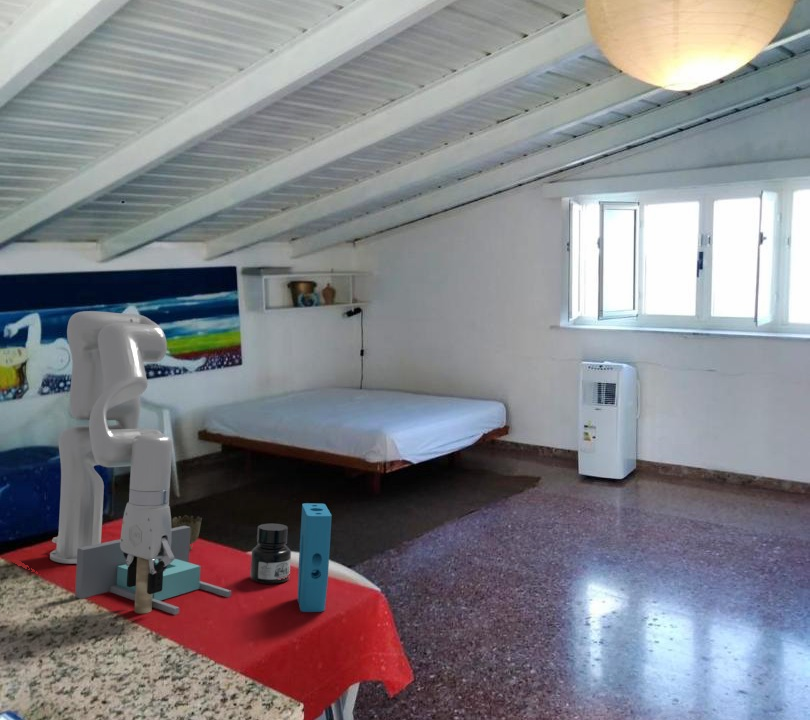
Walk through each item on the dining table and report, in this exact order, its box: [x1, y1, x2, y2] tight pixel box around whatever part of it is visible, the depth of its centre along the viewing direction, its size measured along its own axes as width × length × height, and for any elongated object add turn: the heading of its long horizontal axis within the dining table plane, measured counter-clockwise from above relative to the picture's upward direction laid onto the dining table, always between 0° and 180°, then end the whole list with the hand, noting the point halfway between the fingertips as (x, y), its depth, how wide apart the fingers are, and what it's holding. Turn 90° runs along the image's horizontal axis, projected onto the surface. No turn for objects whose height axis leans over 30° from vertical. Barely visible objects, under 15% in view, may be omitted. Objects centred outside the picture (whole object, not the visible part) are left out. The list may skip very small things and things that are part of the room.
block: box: [297, 502, 332, 613], centre depth 159 cm, size 12×5×20 cm, turn 13°
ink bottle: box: [249, 523, 292, 585], centre depth 174 cm, size 10×9×12 cm
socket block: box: [117, 558, 202, 601], centre depth 162 cm, size 12×12×5 cm
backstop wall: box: [74, 526, 232, 615], centre depth 161 cm, size 22×28×10 cm
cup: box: [171, 514, 203, 550], centre depth 194 cm, size 8×7×8 cm
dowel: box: [134, 557, 153, 614], centre depth 150 cm, size 3×3×12 cm
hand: (144, 588), depth 150 cm, fingers open, 5 cm apart
